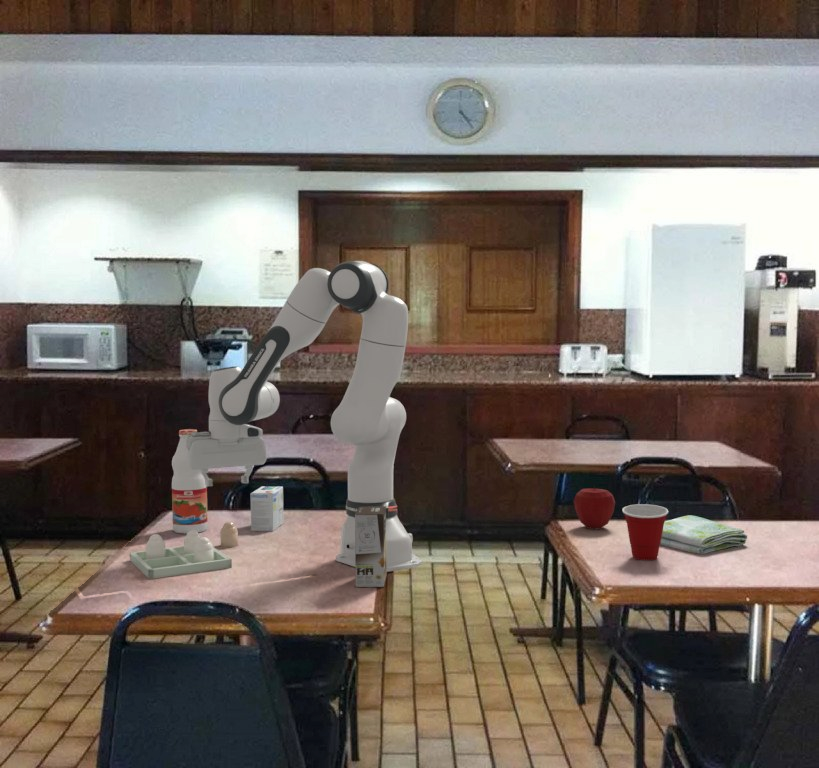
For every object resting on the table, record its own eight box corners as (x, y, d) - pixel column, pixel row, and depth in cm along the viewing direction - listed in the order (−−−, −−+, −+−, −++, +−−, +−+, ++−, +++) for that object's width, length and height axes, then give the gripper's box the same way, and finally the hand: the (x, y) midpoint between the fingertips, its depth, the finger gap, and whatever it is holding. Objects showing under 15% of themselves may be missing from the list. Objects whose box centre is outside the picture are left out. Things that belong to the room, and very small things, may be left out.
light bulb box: (261, 522, 270) (260, 485, 270) (284, 523, 270) (283, 486, 269) (250, 531, 260) (249, 492, 259) (273, 531, 259) (273, 492, 258)
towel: (701, 557, 229) (702, 536, 228) (636, 540, 247) (637, 521, 246) (750, 546, 238) (750, 527, 238) (684, 531, 256) (684, 512, 256)
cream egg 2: (204, 558, 228) (204, 530, 227) (186, 560, 226) (186, 532, 225) (199, 554, 232) (199, 527, 231) (181, 556, 230) (181, 529, 229)
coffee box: (384, 587, 203) (383, 514, 202) (355, 587, 203) (354, 514, 202) (387, 576, 212) (386, 505, 211) (358, 576, 213) (357, 505, 212)
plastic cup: (618, 561, 223) (619, 511, 223) (624, 550, 234) (625, 503, 233) (666, 565, 220) (666, 514, 219) (669, 554, 230) (670, 505, 229)
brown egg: (240, 548, 240) (240, 522, 240) (223, 550, 238) (223, 524, 237) (235, 544, 244) (234, 519, 243) (218, 547, 242) (217, 521, 241)
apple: (621, 527, 260) (621, 485, 260) (602, 534, 252) (602, 490, 252) (586, 521, 268) (587, 481, 267) (566, 528, 260) (566, 486, 259)
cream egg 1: (167, 562, 223) (167, 535, 223) (149, 565, 221) (148, 537, 221) (163, 558, 227) (162, 531, 227) (144, 561, 225) (143, 533, 225)
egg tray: (231, 569, 219) (231, 559, 219) (149, 581, 210) (149, 570, 210) (207, 552, 235) (207, 542, 235) (130, 562, 226) (129, 552, 226)
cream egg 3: (216, 566, 220) (215, 537, 220) (197, 568, 218) (197, 540, 217) (210, 562, 224) (210, 534, 223) (192, 564, 222) (191, 536, 221)
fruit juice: (210, 526, 266) (207, 427, 264) (205, 533, 257) (202, 431, 255) (176, 527, 266) (173, 428, 264) (170, 534, 256) (167, 432, 254)
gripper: (189, 434, 231) (190, 489, 232) (268, 429, 241) (268, 483, 242) (182, 431, 237) (183, 485, 238) (260, 427, 246) (260, 479, 247)
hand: (227, 484), depth 240 cm, fingers open, 8 cm apart
